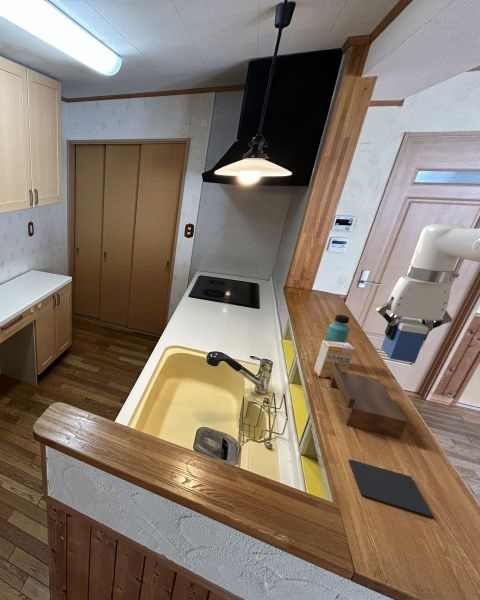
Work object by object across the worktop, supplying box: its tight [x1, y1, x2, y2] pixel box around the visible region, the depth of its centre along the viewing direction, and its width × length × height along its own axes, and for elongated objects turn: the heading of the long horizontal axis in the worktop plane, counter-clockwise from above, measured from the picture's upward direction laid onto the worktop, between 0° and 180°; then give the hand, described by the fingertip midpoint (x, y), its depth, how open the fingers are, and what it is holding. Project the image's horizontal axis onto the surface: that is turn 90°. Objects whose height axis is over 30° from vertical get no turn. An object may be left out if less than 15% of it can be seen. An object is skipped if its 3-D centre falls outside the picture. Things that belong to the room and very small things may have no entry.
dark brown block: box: [329, 362, 408, 440], centre depth 100 cm, size 13×22×9 cm, turn 154°
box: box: [381, 317, 429, 364], centre depth 87 cm, size 5×7×10 cm
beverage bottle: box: [324, 314, 351, 343], centre depth 123 cm, size 6×7×20 cm
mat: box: [348, 458, 434, 520], centre depth 75 cm, size 12×11×1 cm
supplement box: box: [313, 339, 356, 379], centre depth 116 cm, size 8×5×13 cm, turn 76°
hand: (403, 339), depth 87 cm, fingers closed on box, 5 cm apart
